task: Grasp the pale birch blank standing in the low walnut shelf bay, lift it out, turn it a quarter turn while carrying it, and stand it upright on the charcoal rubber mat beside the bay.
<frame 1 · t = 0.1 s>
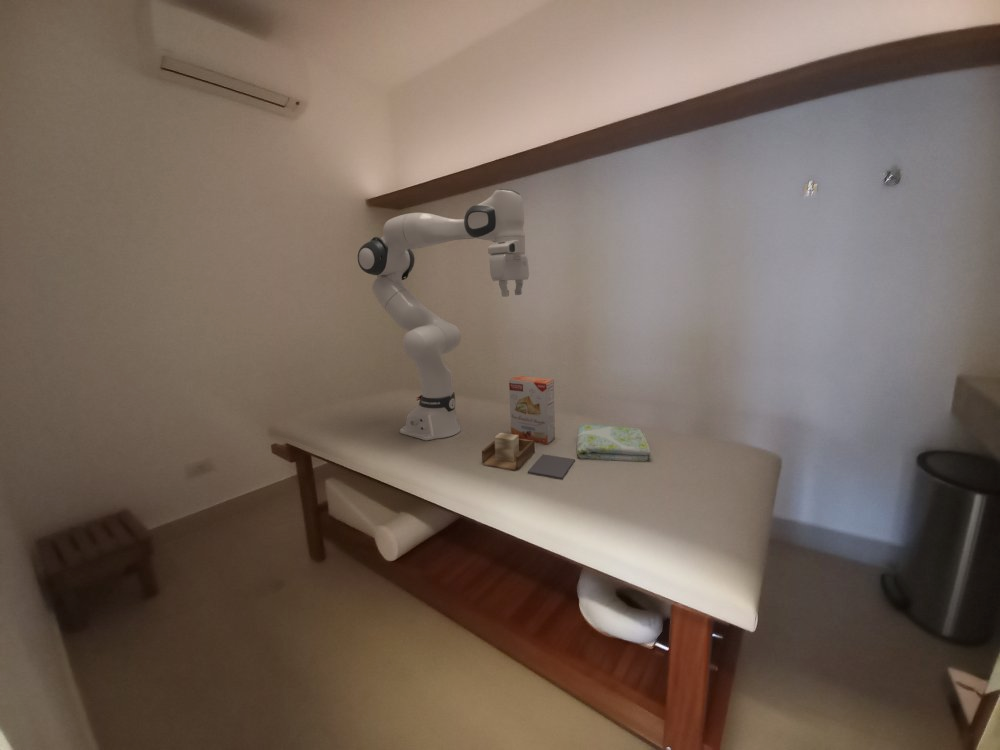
hand: (512, 295, 121), 48 cm above the table, fingers open, 8 cm apart
mat: (551, 467, 113), on the table
blank: (507, 458, 119), resting on shelf bay
cracker box: (532, 439, 135), on the table
towel: (611, 449, 124), on the table
shelf bay: (507, 459, 119), on the table
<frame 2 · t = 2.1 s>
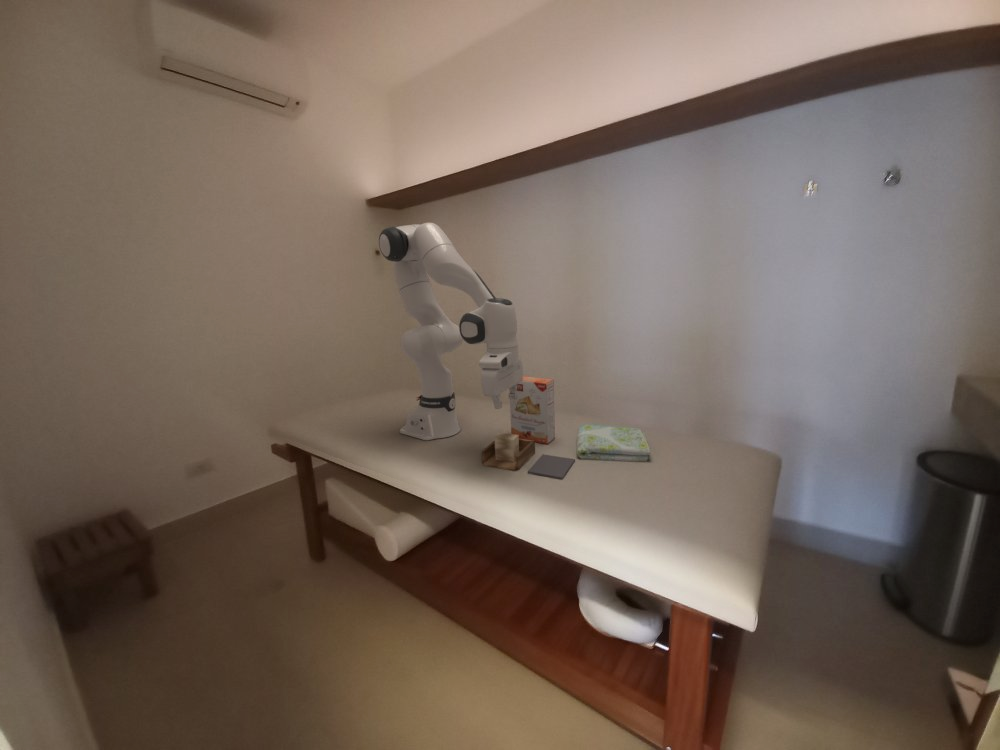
hand: (505, 403, 115), 18 cm above the table, fingers open, 8 cm apart
nothing on the table moved.
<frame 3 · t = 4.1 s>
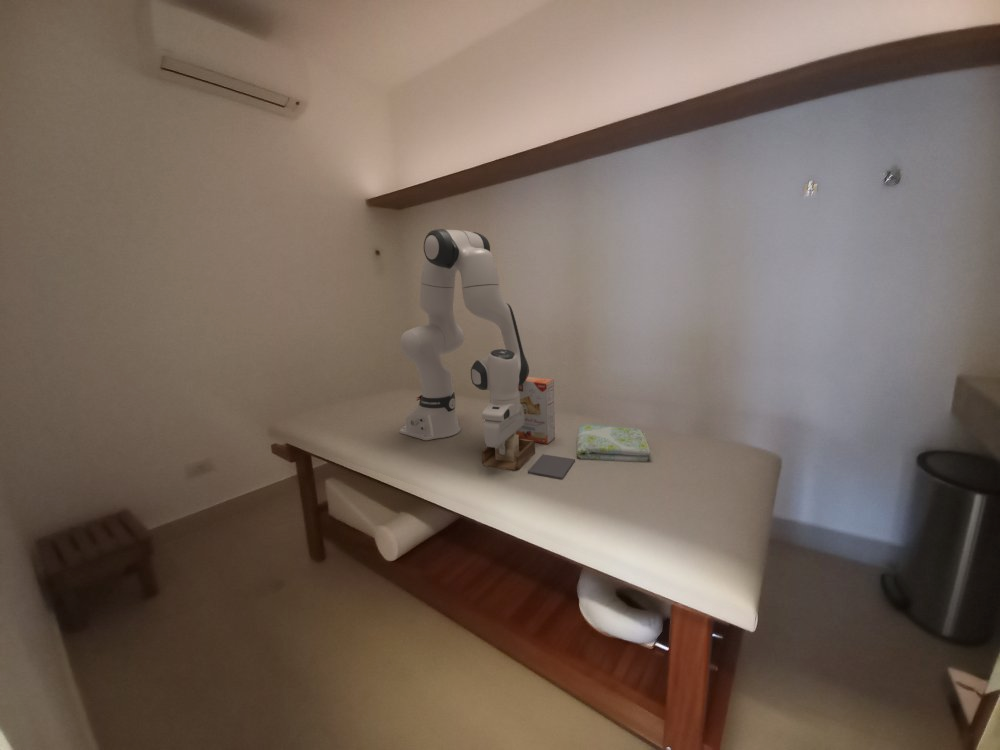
hand: (507, 449, 119), 3 cm above the table, fingers closed on blank, 4 cm apart
blank: (507, 458, 119), resting on shelf bay, touching gripper
everything else where it was.
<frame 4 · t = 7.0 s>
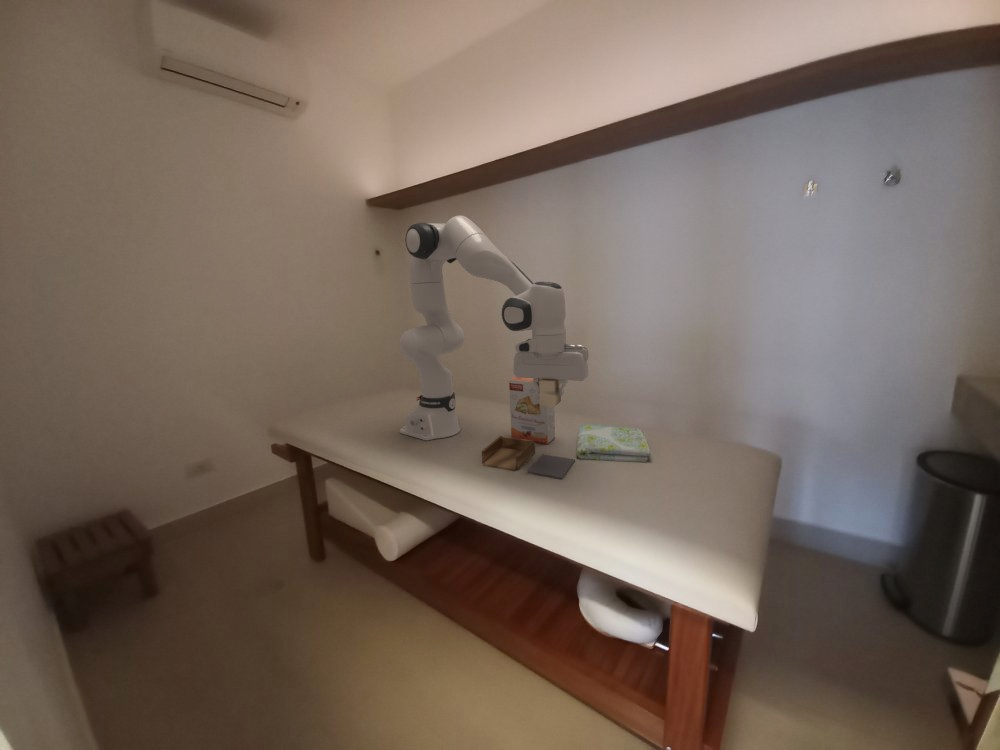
hand: (550, 394, 108), 22 cm above the table, fingers closed on blank, 4 cm apart
blank: (550, 403, 109), point 19 cm above the table, touching gripper
everything else where it was.
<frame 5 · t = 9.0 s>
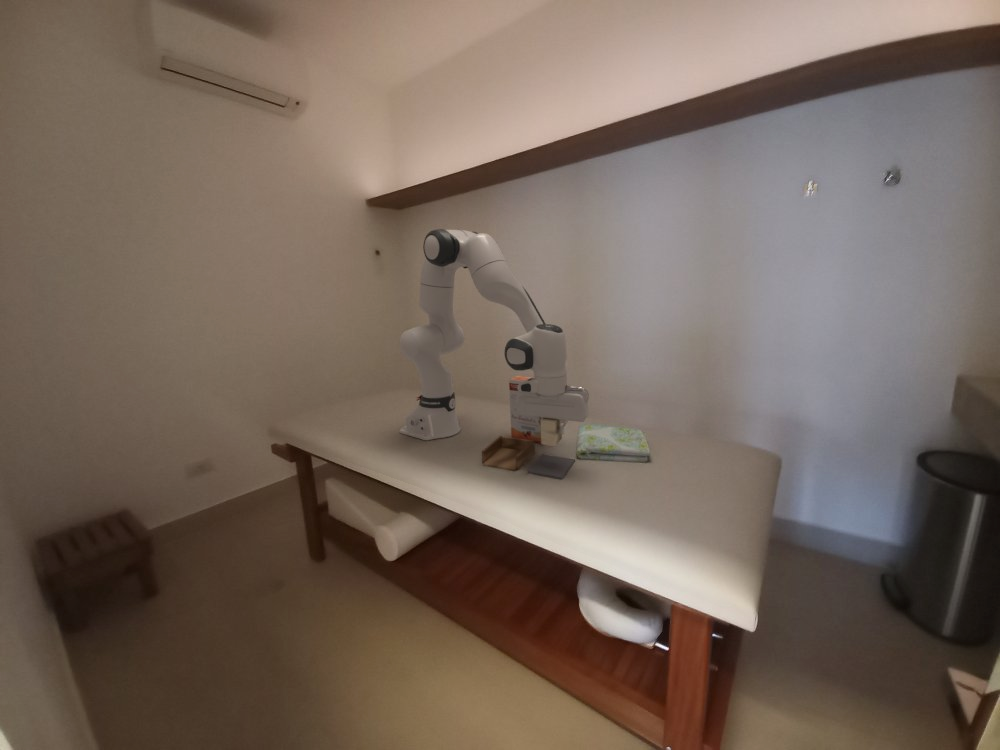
hand: (551, 432, 111), 10 cm above the table, fingers closed on blank, 4 cm apart
blank: (551, 441, 111), point 8 cm above the table, touching gripper
everything else where it was.
when the fingers open (5 cm above the table, at t = 10.4 s): blank drops 2 cm, resting on mat.
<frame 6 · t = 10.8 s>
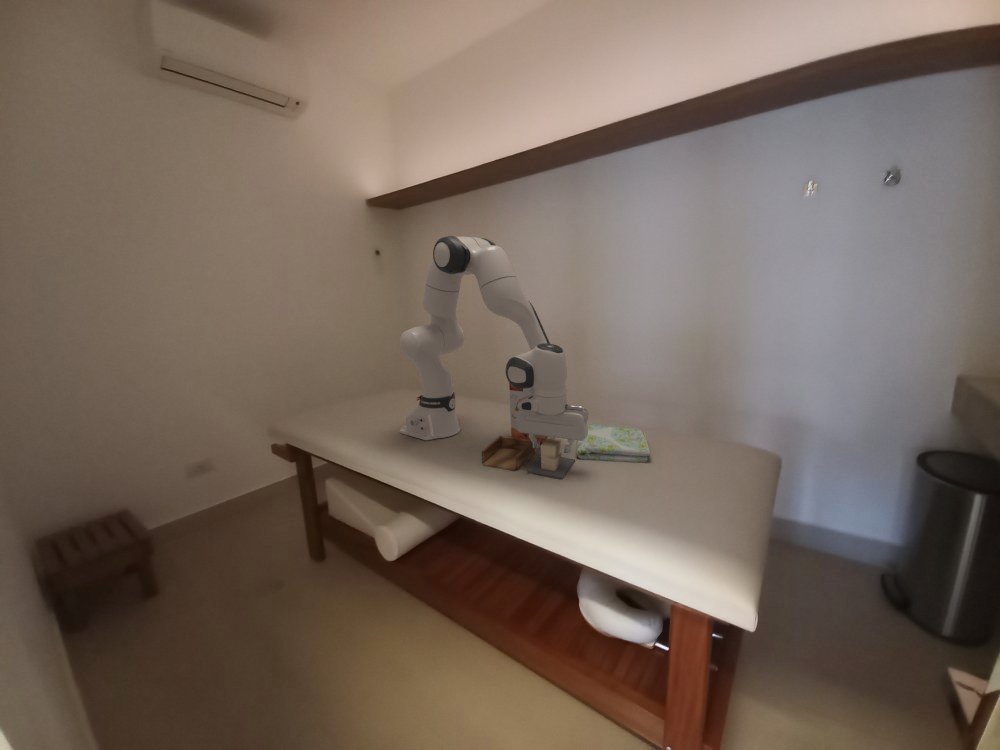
hand: (551, 450, 112), 5 cm above the table, fingers open, 8 cm apart
blank: (551, 465, 113), point 1 cm above the table, touching mat
everything else where it was.
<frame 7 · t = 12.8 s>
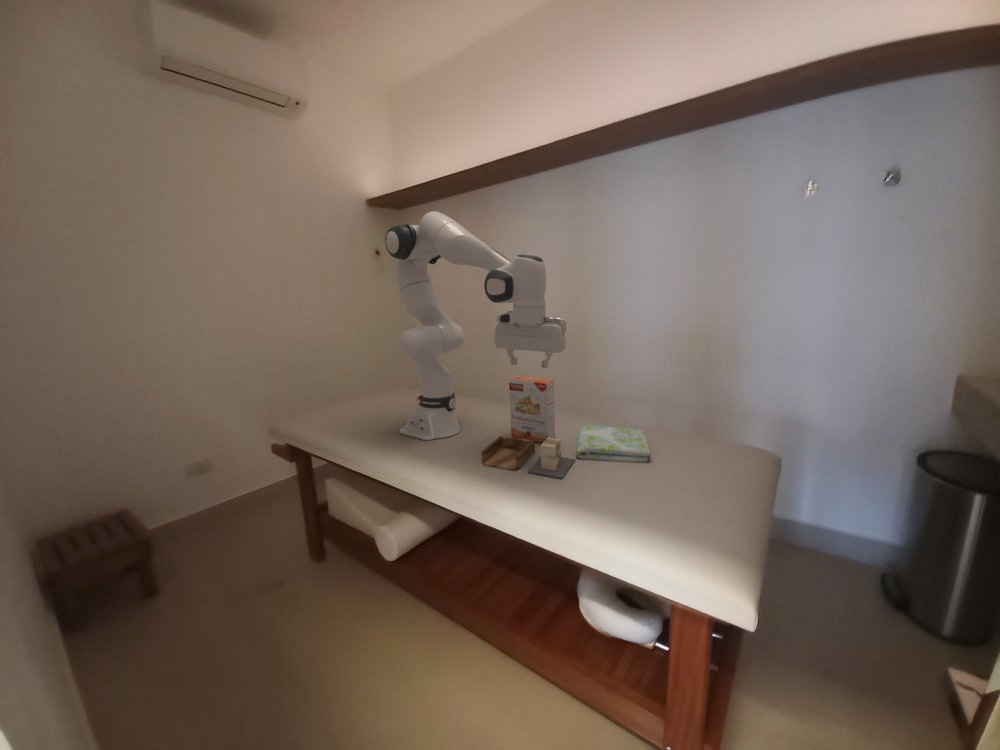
hand: (529, 365, 112), 29 cm above the table, fingers open, 8 cm apart
nothing on the table moved.
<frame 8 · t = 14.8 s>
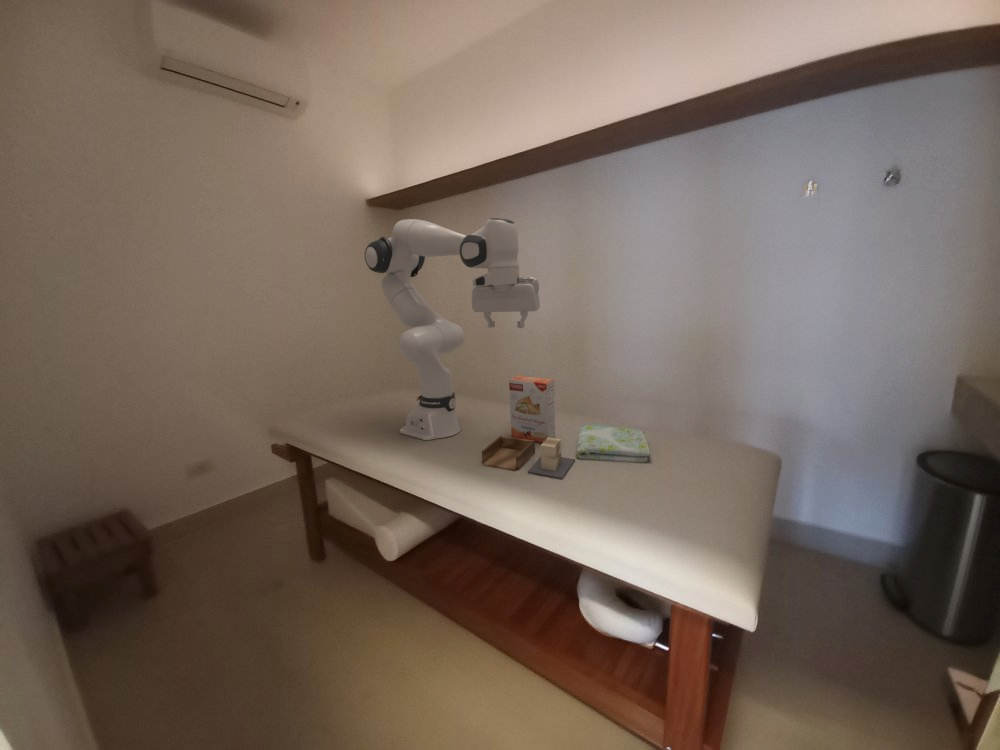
hand: (506, 327, 115), 39 cm above the table, fingers open, 8 cm apart
nothing on the table moved.
at the end: blank inside the target area on the mat (0.1 cm from its centre), point 0.6 cm above the mat's base; blank tilted 0°; the gripper is holding nothing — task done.
